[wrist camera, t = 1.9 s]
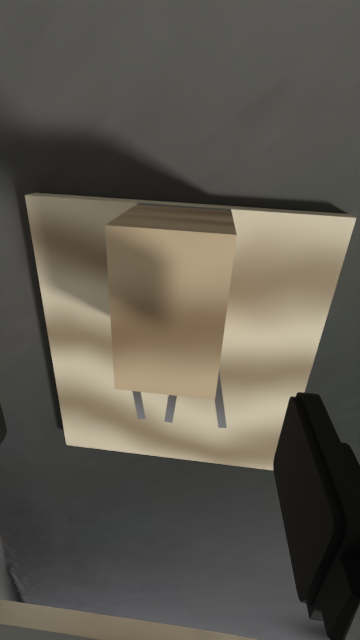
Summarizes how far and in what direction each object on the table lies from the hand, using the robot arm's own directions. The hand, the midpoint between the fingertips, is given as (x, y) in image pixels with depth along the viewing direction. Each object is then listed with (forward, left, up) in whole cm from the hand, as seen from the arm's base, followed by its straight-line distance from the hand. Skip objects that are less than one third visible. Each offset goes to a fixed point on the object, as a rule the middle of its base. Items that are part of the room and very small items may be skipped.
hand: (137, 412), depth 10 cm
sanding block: (-1, 0, -11) cm, 11 cm away
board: (+5, 0, -12) cm, 13 cm away
